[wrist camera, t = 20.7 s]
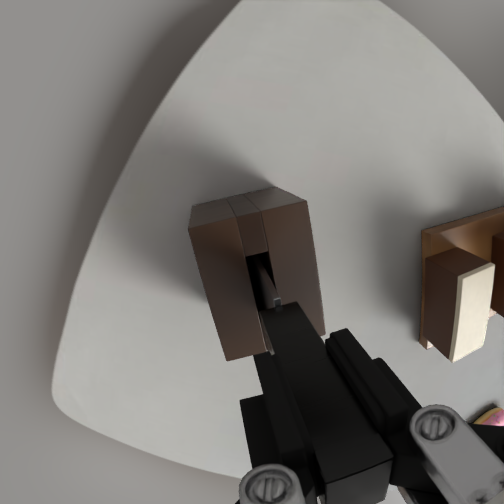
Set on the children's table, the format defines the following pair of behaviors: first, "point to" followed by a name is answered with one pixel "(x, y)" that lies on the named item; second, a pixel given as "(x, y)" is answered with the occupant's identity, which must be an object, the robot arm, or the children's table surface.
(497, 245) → the cake
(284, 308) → the knife
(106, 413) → the children's table surface
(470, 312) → the cake slice
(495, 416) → the doughnut
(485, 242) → the cutting board
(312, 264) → the knife block
